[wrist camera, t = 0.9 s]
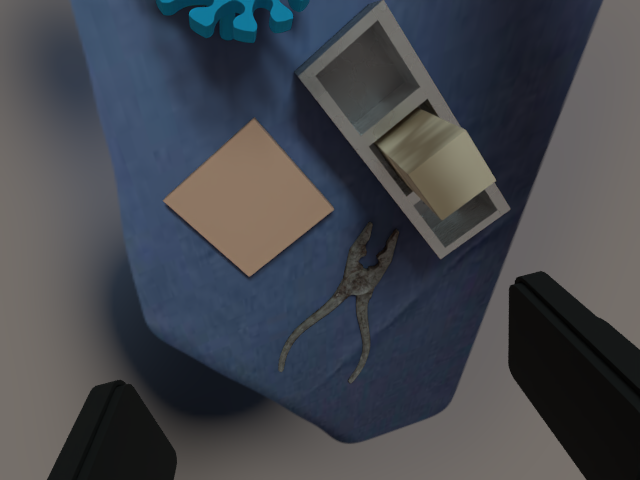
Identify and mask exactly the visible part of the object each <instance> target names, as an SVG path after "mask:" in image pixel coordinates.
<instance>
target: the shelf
mask: <svg viewBox="0 0 640 480" xmlns="http://www.w3.org/2000/svg"><path fill="white" fill-rule="evenodd" d="M294 72H295V74H296V75H297V76H298V77H299V79H300V80H301V81H302V83H303V84H304V85H305V86H306V88H307V89H308V90H309V92H310V93H311V94H312V95H313V97H314V98H315V99H316V101H317V102H318V103H319V104H320V106H321V107H322V108H323V110H324V111H325V112H326V113H327V115H328V116H329V117H330V119H331V120H332V121H333V122H334V124H335V125H336V126H337V128H338V129H339V130H340V131H341V133H342V134H343V135H344V137H345V138H346V139H347V140H348V142H349V143H350V144H351V146H352V147H353V148H354V149H355V151H356V152H357V153H358V155H359V156H360V157H361V158H362V160H363V161H364V162H365V164H366V165H367V166H368V167H369V169H370V170H371V171H372V173H373V174H374V175H375V176H376V178H377V179H378V180H379V181H380V183H381V184H382V185H383V187H384V188H385V189H386V190H387V192H388V193H389V194H390V196H391V197H392V198H393V199H394V201H395V202H396V203H397V205H398V206H399V207H400V208H401V210H402V211H403V212H404V214H405V215H406V216H407V217H408V219H409V220H410V221H411V223H412V224H413V225H414V226H415V228H416V229H417V230H418V232H419V233H420V234H421V235H422V237H423V238H424V239H425V241H426V242H427V243H428V244H429V246H430V247H431V248H432V249H433V251H434V252H435V253H436V254H437V256H438V257H439V258H440V259H442V258H443V257H444V256H446V255H447V254H449V253H450V252H451V251H453V250H454V249H456V248H457V247H459V246H460V245H461V244H463V243H464V242H466V241H467V240H468V239H470V238H471V237H473V236H474V235H475V234H477V233H478V232H480V231H481V230H482V229H484V228H485V227H487V226H488V225H489V224H491V223H492V222H494V221H495V220H496V219H498V218H499V217H501V216H502V215H503V214H505V213H506V212H508V211H509V210H510V207H509V205H508V204H507V202H506V200H505V199H504V197H503V196H502V194H501V192H500V191H499V189H498V187H497V186H496V184H495V182H494V183H493V184H491V185H490V186H488V187H487V188H486V189H484V190H483V191H482V192H480V193H479V194H478V195H476V196H475V197H473V198H472V199H471V200H469V201H468V202H467V203H465V204H464V205H463V206H461V207H460V208H459V209H457V210H456V211H454V212H453V213H452V214H450V215H449V216H448V217H446V218H445V219H444V220H441V219H440V218H439V217H438V216H437V215H436V214H435V213H434V212H433V211H432V210H431V209H430V208H429V207H428V206H427V205H426V204H425V203H424V202H423V201H422V200H421V199H420V198H419V197H418V196H417V195H416V194H415V192H414V191H413V190H412V189H411V188H410V187H409V186H408V185H407V184H406V183H405V182H404V181H403V180H402V179H401V178H400V177H399V176H398V175H397V174H396V173H395V171H394V170H393V169H392V167H391V166H390V165H389V163H388V162H387V161H386V159H385V158H384V157H383V155H382V154H381V153H380V151H379V150H378V149H377V147H376V146H375V145H374V142H375V141H376V140H377V139H379V138H380V137H381V136H382V135H383V134H385V133H386V132H387V131H388V130H390V129H391V128H392V127H393V126H395V125H396V124H397V123H398V122H399V121H401V120H402V119H403V118H404V117H406V116H407V115H408V114H409V113H410V112H412V111H413V110H414V109H415V108H419V109H422V110H424V111H426V112H428V113H430V114H432V115H435V116H437V117H439V118H441V119H443V120H445V121H448V122H450V123H452V124H454V125H456V126H458V127H460V125H459V123H458V122H457V120H456V118H455V117H454V115H453V113H452V112H451V110H450V108H449V107H448V105H447V104H446V102H445V100H444V99H443V97H442V95H441V94H440V92H439V90H438V89H437V87H436V85H435V84H434V82H433V81H432V79H431V77H430V76H429V74H428V72H427V71H426V69H425V67H424V66H423V64H422V62H421V61H420V59H419V57H418V56H417V54H416V53H415V51H414V49H413V48H412V46H411V44H410V43H409V41H408V39H407V38H406V36H405V34H404V33H403V31H402V30H401V28H400V26H399V25H398V23H397V21H396V20H395V18H394V16H393V15H392V13H391V11H390V10H389V8H388V7H387V5H386V3H385V2H384V0H380V1H377V2H374V3H371V4H368V5H367V6H366V7H365V8H364V9H363V10H362V11H360V12H359V13H358V14H357V15H356V16H355V17H354V18H353V19H352V20H351V21H349V22H348V23H347V24H346V25H345V26H344V27H343V28H342V29H341V30H340V31H338V32H337V33H336V34H335V35H334V36H333V37H332V38H331V39H330V40H328V41H327V42H326V43H325V44H324V45H323V46H322V47H321V48H320V49H319V50H317V51H316V52H315V53H314V54H313V55H312V56H311V57H310V58H309V59H308V60H306V61H305V62H304V63H303V64H302V65H301V66H300V67H299V68H298V69H297V70H295V71H294Z"/></svg>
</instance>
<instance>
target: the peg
mask: <svg viewBox="0 0 640 480" xmlns="http://www.w3.org/2000/svg"><path fill="white" fill-rule="evenodd" d="M374 145H375V146H376V147H377V149H378V150H379V151H380V153H381V154H382V155H383V157H384V158H385V159H386V161H387V162H388V163H389V165H390V166H391V167H392V169H393V170H394V171H395V173H396V174H397V175H398V176H399V177H400V178H401V179H402V180H403V181H404V182H405V183H406V184H407V185H408V186H409V187H410V188H411V189H412V190H413V191H414V192H415V194H416V195H417V196H418V197H419V198H420V199H421V200H422V201H423V202H424V203H425V204H426V205H427V206H428V207H429V208H430V209H431V210H432V211H433V212H434V213H435V214H436V215H437V216H438V217H439V218H440V219H441V220H444V219H445V218H446V217H448V216H449V215H450V214H452V213H453V212H454V211H456V210H457V209H459V208H460V207H461V206H463V205H464V204H465V203H467V202H468V201H469V200H471V199H472V198H473V197H475V196H476V195H478V194H479V193H480V192H482V191H483V190H484V189H486V188H487V187H488V186H490V185H491V184H493V183H494V182H495V181H496V179H495V177H494V176H493V174H492V172H491V171H490V169H489V167H488V166H487V164H486V162H485V161H484V159H483V158H482V156H481V154H480V153H479V151H478V149H477V148H476V146H475V144H474V143H473V141H472V139H471V138H470V136H469V134H468V133H467V131H466V130H465V129H463V128H461V127H458V126H456V125H454V124H452V123H450V122H448V121H445V120H443V119H441V118H439V117H437V116H435V115H432V114H430V113H428V112H426V111H424V110H422V109H419V108H415V109H414V110H413V111H412V112H410V113H409V114H408V115H407V116H406V117H404V118H403V119H402V120H401V121H399V122H398V123H397V124H396V125H395V126H393V127H392V128H391V129H390V130H388V131H387V132H386V133H385V134H383V135H382V136H381V137H380V138H379V139H377V140H376V141H375V142H374Z"/></svg>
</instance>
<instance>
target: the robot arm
mask: <svg viewBox="0 0 640 480" xmlns="http://www.w3.org/2000/svg"><path fill="white" fill-rule="evenodd" d="M508 354H509V356H508V358H509V360H508V363H509V369H510V372H511V374H512V376H513V378H514V379H515V381H516V382H517V384H518V385H519V386H520V388H521V389H522V390H523V392H524V393H525V395H526V396H527V397H528V399H529V400H530V402H531V403H532V404H533V406H534V407H535V409H536V410H537V411H538V413H539V414H540V416H541V417H542V418H543V420H544V421H545V422H546V424H547V425H548V427H549V428H550V429H551V431H552V432H553V433H554V435H555V436H556V438H557V439H558V441H559V442H560V443H561V445H562V446H563V448H564V449H565V450H566V452H567V453H568V455H569V456H570V457H571V459H572V460H573V461H574V463H575V464H576V466H577V467H578V468H579V470H580V471H581V473H582V474H583V475H584V477H585V478H586V480H640V350H639V349H638V348H637V347H636V346H635V345H633V344H632V343H631V342H630V341H628V340H627V339H626V338H625V337H624V336H623V335H622V334H620V333H619V332H618V331H617V330H615V328H613V327H612V326H611V325H610V324H609V323H607V322H606V321H604V320H603V319H601V318H598V317H597V316H595V315H594V314H593V313H592V312H591V311H590V310H588V309H587V308H586V307H585V306H584V305H583V304H581V303H580V302H579V301H578V300H577V299H576V298H574V297H573V296H572V295H571V294H570V293H568V292H567V291H566V290H565V289H564V288H563V287H562V286H560V285H559V284H558V283H557V282H556V281H554V280H553V279H552V278H551V277H550V276H549V275H548V274H546V273H545V272H542V271H540V272H536V273H532V274H528V275H524V276H520V277H517V278H516V280H515V284H514V285H511V286H510V288H509V353H508ZM176 465H177V457H176V452H175V450H174V448H173V447H172V445H171V444H170V442H169V441H168V439H167V438H166V436H165V434H164V433H163V431H162V430H161V428H160V427H159V425H158V424H157V422H156V421H155V419H154V418H153V416H152V415H151V413H150V412H149V410H148V408H147V407H146V405H145V404H144V402H143V401H142V399H141V398H140V396H139V395H138V393H137V392H136V390H135V389H134V387H133V386H132V385H131V384H126V383H125V382H124V381H122V380H117V381H113V382H109V383H105V384H101V385H98V386H95V387H94V388H93V389H92V390H91V391H90V394H89V395H88V397H87V399H86V402H85V403H84V406H83V408H82V410H81V412H80V414H79V416H78V418H77V420H76V422H75V424H74V426H73V428H72V430H71V432H70V434H69V436H68V438H67V440H66V442H65V444H64V447H63V448H62V450H61V453H60V454H59V456H58V458H57V460H56V462H55V465H54V467H53V469H52V471H51V473H50V475H49V477H48V479H47V480H174V475H175V470H176Z"/></svg>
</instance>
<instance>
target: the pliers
mask: <svg viewBox="0 0 640 480" xmlns="http://www.w3.org/2000/svg"><path fill="white" fill-rule="evenodd" d="M372 225H373V224H372V222H368V224H367V225H366V227H365V228H364V230H363V231H362V232H361V234H360V235H359V237H358V238H357V239H356V241H355V242H354V244H353V245H352V247H351V248H350V249H349V254H348V258H347V262H346V267H345V271H344V276H343V279H342V281H341V283H340V285H339V286H338V288H337V290H336V292H335V293H334V295H333V296H332V297H331V298H330V299H329V300H328V301H327V302H326V303H325V304H324V305H323V306H322V307H321V308H320V309H318V310H317V311H316V312H315V313H313V314H312V315H311V316H310V317H309V318H307V319H306V320H305V321H304V322H303V323H301V324H300V325H299V326H298V327H297V328H296V329H295V330H294V331H293V333H292V334H291V335H290V336H289V338H288V340H287V342H286V343H285V345H284V347H283V350H282V352H281V355H280V359H279V371H280V372H282V371H283V370H284V365H285V360H286V357H287V354H288V352H289V350H290V348H291V346H292V345H293V343H294V342H295V340H296V339H297V338H298V337H299V336H300V335H301V334H302V333H303V332H304V331H305V330H307V329H308V328H309V327H311V326H312V325H313V324H315V323H316V322H317V321H319V320H320V319H322V318H323V317H324V316H326V315H327V314H329V313H330V312H331V311H333V310H334V309H335V308H336V307H337V306H338V305H340V304H341V303H342V302H343V301H344V300H345V299H346V298H347V297H348V296H350V295H352V294H353V295H357V296H356V313H357V318H358V322H359V326H360V331H361V335H362V342H363V350H362V355H361V359H360V361H359V364H358V366H357V368H356V369H355V371H354V372H353V374H352V375H351V377H350V378H349V379H348V381H349V383H352V382H353V381H354V380H355V379H356V377H357V376H358V375H359V374H360V372H361V370H362V369H363V367H364V365H365V362H366V360H367V357H368V354H369V350H370V333H369V325H368V316H367V305H368V302H369V299H370V298H371V296H372V293H373V290H374V287H375V286H376V285H377V284H378V282H379V281H380V279H381V278H382V276H383V274H384V273H385V271H386V269H387V268H388V266H389V264H390V263H391V261H392V257H393V253H394V249H395V246H396V242H397V238H398V235H399V231H398V230H397V229H395V230H394V232H393V233H392V234H391V236H390V237H389V239H388V240H387V241H386V242H387V243H386V246H385V248H384V249H383V250H382V251H381V252H379V253H378V254H377V255H376V256H377V258H378V260H379V261H378V264H376V265H375V266H369V267H368V268H367V269H365V268H363V265H362V264H360V263H359V262H358V261H359V259H360V258H361V257H363V256H366V253H367V251H366V248H365V245H366V243H367V242H368V241H369V239H370V235H371V230H372Z"/></svg>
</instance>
